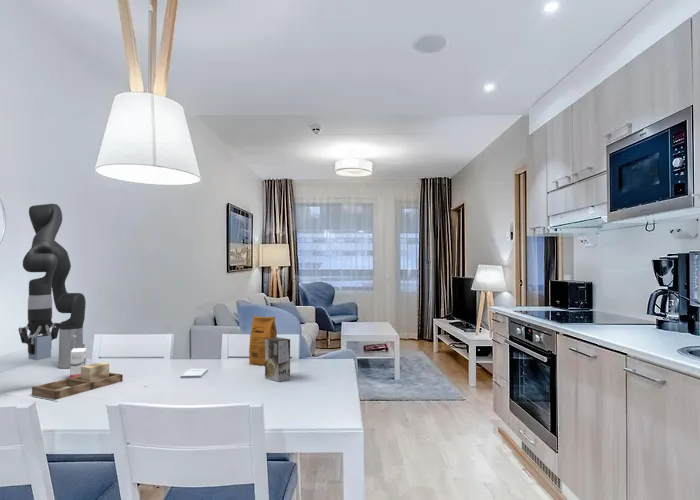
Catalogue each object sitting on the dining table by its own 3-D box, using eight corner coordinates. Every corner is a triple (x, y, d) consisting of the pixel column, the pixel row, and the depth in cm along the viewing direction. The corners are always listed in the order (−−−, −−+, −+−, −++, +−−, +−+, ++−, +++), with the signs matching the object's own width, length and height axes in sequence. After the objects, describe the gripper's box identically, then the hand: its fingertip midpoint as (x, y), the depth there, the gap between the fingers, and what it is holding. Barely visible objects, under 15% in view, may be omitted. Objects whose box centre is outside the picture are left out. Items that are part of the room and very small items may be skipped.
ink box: (84, 380, 179) (84, 350, 179) (69, 381, 177) (70, 351, 177) (86, 375, 187) (86, 347, 187) (72, 376, 184) (72, 348, 185)
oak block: (100, 380, 176) (100, 362, 176) (108, 381, 174) (109, 363, 174) (80, 385, 169) (80, 366, 169) (89, 386, 167) (89, 367, 167)
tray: (99, 379, 180) (99, 371, 180) (122, 383, 175) (122, 374, 175) (31, 396, 157) (32, 387, 157) (56, 401, 151) (56, 391, 151)
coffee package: (256, 360, 217) (256, 314, 217) (279, 362, 213) (279, 315, 213) (245, 364, 207) (245, 316, 208) (269, 366, 203) (269, 317, 204)
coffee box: (290, 379, 181) (291, 339, 181) (278, 382, 176) (278, 341, 177) (276, 375, 187) (277, 336, 188) (264, 378, 182) (264, 338, 183)
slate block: (42, 356, 169) (42, 334, 170) (50, 357, 167) (51, 335, 168) (28, 358, 165) (28, 337, 165) (37, 360, 163) (37, 338, 163)
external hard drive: (180, 379, 182) (188, 372, 195) (200, 379, 183) (208, 371, 195) (180, 375, 182) (188, 368, 195) (200, 375, 183) (208, 368, 196)
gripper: (52, 304, 174) (52, 348, 174) (12, 308, 161) (12, 356, 161) (65, 305, 171) (65, 350, 171) (26, 309, 158) (25, 357, 158)
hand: (39, 352), depth 166 cm, fingers closed on slate block, 5 cm apart
